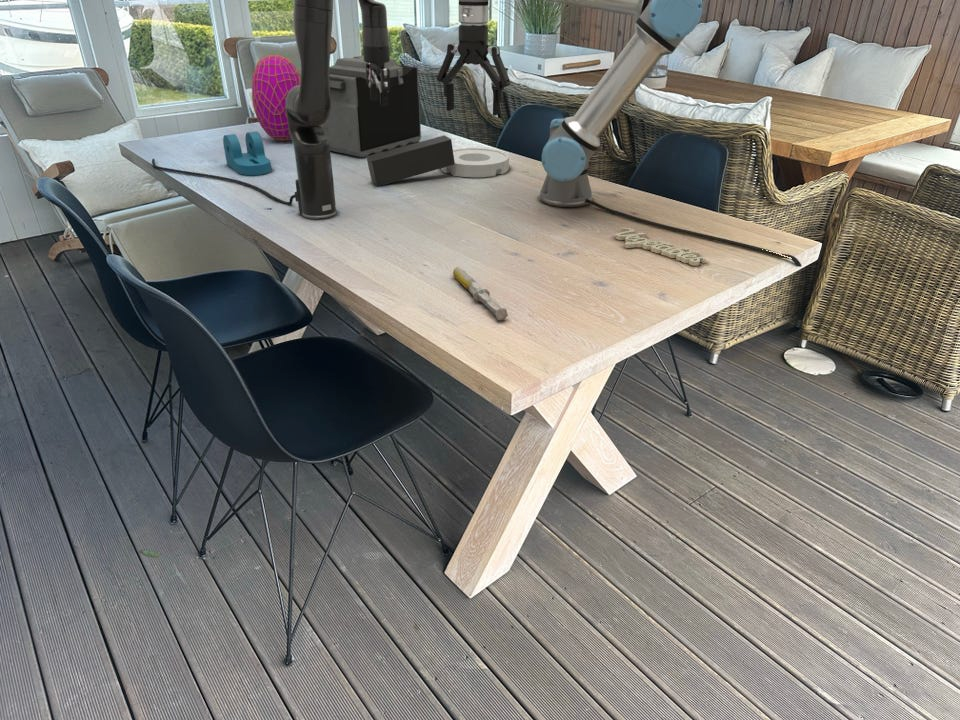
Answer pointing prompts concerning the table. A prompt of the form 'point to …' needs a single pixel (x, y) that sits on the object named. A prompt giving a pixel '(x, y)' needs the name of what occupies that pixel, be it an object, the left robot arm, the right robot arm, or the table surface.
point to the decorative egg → (273, 94)
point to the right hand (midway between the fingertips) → (472, 112)
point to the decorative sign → (659, 247)
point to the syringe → (479, 293)
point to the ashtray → (478, 162)
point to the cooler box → (371, 109)
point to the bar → (410, 160)
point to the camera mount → (246, 154)
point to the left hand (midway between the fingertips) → (379, 103)
